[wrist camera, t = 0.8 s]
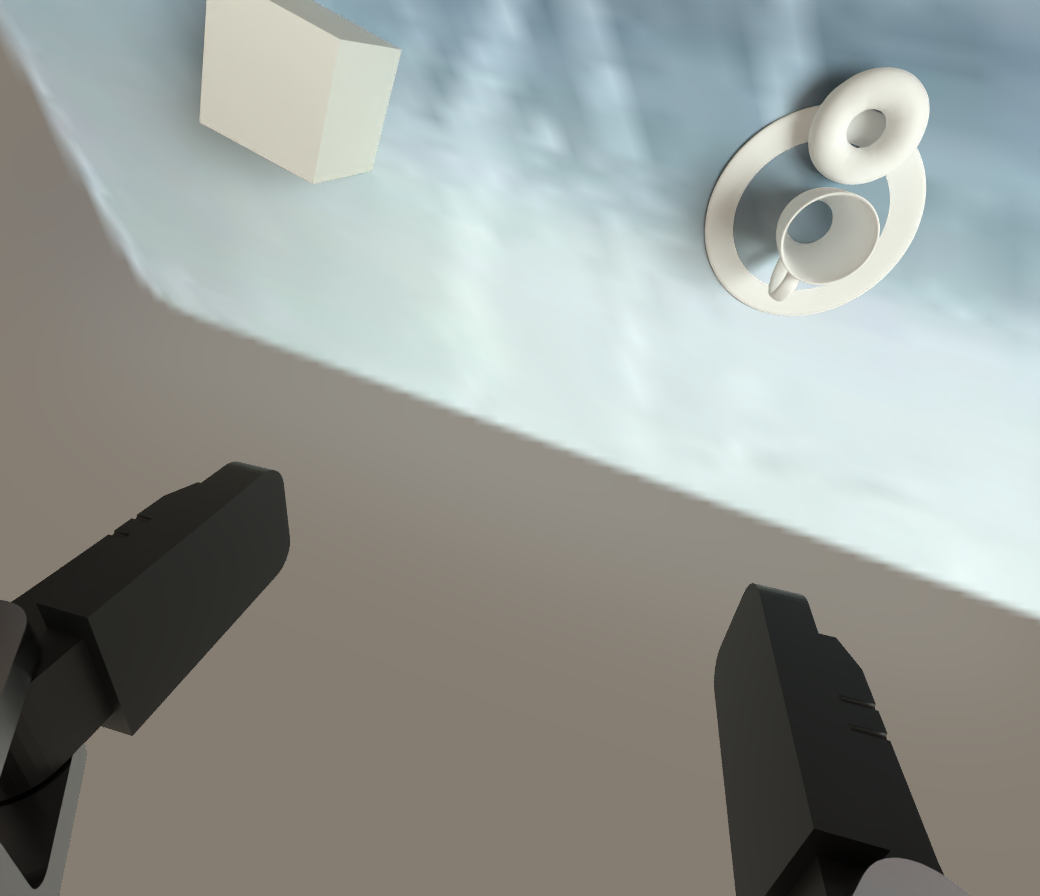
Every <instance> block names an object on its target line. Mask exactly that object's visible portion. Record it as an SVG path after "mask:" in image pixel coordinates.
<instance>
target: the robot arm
mask: <svg viewBox="0 0 1040 896" xmlns="http://www.w3.org/2000/svg"><path fill="white" fill-rule="evenodd" d="M289 547H290V535H289V527H288V517H287V509H286V501H285V492H284V483H283V479H282V476H281V475H280V473H279V472H277V471H275V470H271V469H266V468H262V467H258V466H253V465H249V464H245V463H241V462H231V463H229V464H227V465H225V466H224V467H222V468H221V469H220V470H219V471H217V472H216V473H214V474H213V475H212V476H210V477H209V478H207V479H206V480H204V481H203V482H202V483H195V484H192V485H190V486H187V487H185V488H182V489H180V490H177V491H175V492H172V493H170V494H168V495H165V496H163V497H162V498H160V499H159V500H157V501H156V502H155V503H153V504H152V505H150V506H149V507H147V508H146V509H144V510H143V511H142V512H140V513H139V514H137V518H136V519H130V520H129V521H127V522H126V523H124V524H123V525H122V526H120V527H119V528H117V529H116V530H115V531H114V534H113V535H107V536H106V537H104V538H103V539H101V540H100V541H99V542H97V543H96V544H94V545H93V546H92V547H90V548H89V549H87V550H86V551H84V552H83V553H81V554H80V555H79V556H77V557H76V558H74V559H73V560H71V561H70V562H68V563H67V564H66V565H64V566H63V567H61V568H60V569H59V570H57V571H56V572H54V573H53V574H51V575H50V576H48V577H47V578H46V579H44V580H43V581H41V582H40V583H38V584H37V585H36V586H34V587H33V588H31V589H30V590H28V591H27V592H25V593H24V594H23V595H21V596H20V597H18V598H17V599H15V600H13V601H12V602H8V601H4V600H0V896H59V895H60V888H61V883H62V878H63V873H64V868H65V863H66V858H67V853H68V848H69V843H70V838H71V833H72V828H73V823H74V818H75V813H76V809H77V803H78V799H79V793H80V789H81V784H82V778H83V774H84V769H85V764H86V757H87V751H86V745H85V742H86V741H87V740H88V739H89V737H91V736H92V734H93V733H94V732H95V731H96V730H97V729H98V728H99V727H100V726H103V727H106V728H109V729H112V730H115V731H118V732H122V733H125V734H128V735H131V736H132V735H134V734H135V732H136V731H137V730H138V729H139V728H140V727H141V726H142V725H143V724H144V722H145V721H146V720H147V719H148V718H149V717H150V716H151V715H152V714H153V712H154V711H155V710H156V709H157V708H158V707H159V706H160V705H161V704H162V702H163V701H164V700H165V699H166V698H167V697H168V696H169V695H170V694H171V692H172V691H173V690H174V689H175V688H176V687H177V686H178V684H179V683H180V682H181V681H182V680H183V679H184V678H185V677H186V676H187V675H188V673H189V672H190V671H191V670H192V669H193V668H194V667H195V666H196V665H197V663H198V662H199V661H200V660H201V659H202V658H203V657H204V656H205V654H206V653H207V652H208V651H209V650H210V649H211V648H212V647H213V645H215V643H216V642H217V641H218V640H219V639H220V638H221V637H222V635H224V633H225V632H226V631H227V630H228V629H229V628H230V627H231V626H232V624H233V623H234V622H235V621H236V620H237V619H238V618H239V617H240V616H241V615H242V613H243V612H244V611H245V610H246V609H247V608H248V607H249V606H250V605H251V603H252V602H253V601H254V600H255V599H256V598H257V597H258V595H259V594H260V593H261V592H262V591H263V590H264V589H265V588H266V587H267V586H268V584H269V583H270V582H271V581H272V580H273V579H274V578H275V576H276V575H277V574H278V573H279V572H280V570H281V569H282V567H283V565H284V563H285V561H286V558H287V555H288V552H289ZM714 691H715V700H716V709H717V719H718V728H719V738H720V748H721V757H722V767H723V776H724V786H725V795H726V805H727V814H728V823H729V833H730V842H731V852H732V861H733V871H734V879H735V890H736V896H970V895H968V894H967V893H966V892H965V891H964V890H963V889H962V888H960V887H959V886H958V885H956V884H955V883H954V882H952V881H951V880H950V879H948V878H947V877H945V876H944V874H943V872H942V870H941V867H940V865H939V863H938V861H937V858H936V856H935V853H934V851H933V848H932V846H931V843H930V841H929V838H928V835H927V833H926V830H925V828H924V826H923V823H922V820H921V818H920V815H919V813H918V810H917V808H916V805H915V803H914V800H913V797H912V795H911V792H910V790H909V788H908V785H907V782H906V780H905V777H904V775H903V772H902V770H901V767H900V764H899V762H898V760H897V757H896V755H895V752H894V749H893V747H892V744H891V742H890V741H888V740H887V739H886V735H887V732H886V729H885V727H884V724H883V721H882V719H881V717H880V714H879V711H877V710H875V701H874V699H873V696H872V694H871V691H870V689H869V686H868V684H867V681H866V678H865V676H864V673H863V671H862V669H861V668H860V667H859V665H858V664H857V663H856V662H855V660H854V659H853V658H852V657H851V656H850V654H849V653H848V652H847V651H846V650H845V648H844V647H843V646H842V644H841V643H840V642H839V641H838V640H837V638H835V637H831V636H827V635H823V634H818V631H817V628H816V625H815V622H814V619H813V616H812V613H811V610H810V607H809V604H808V601H807V599H806V598H805V597H804V596H803V595H801V594H797V593H792V592H788V591H784V590H780V589H776V588H771V587H767V586H762V585H758V584H754V583H752V584H750V585H749V586H748V587H747V588H746V590H745V592H744V594H743V596H742V599H741V601H740V603H739V606H738V608H737V610H736V613H735V615H734V617H733V619H732V622H731V624H730V626H729V629H728V631H727V633H726V636H725V638H724V640H723V642H722V645H721V647H720V650H719V653H718V656H717V660H716V666H715V675H714Z"/></svg>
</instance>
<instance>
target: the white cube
mask: <svg viewBox="0 0 1040 896" xmlns="http://www.w3.org/2000/svg"><path fill="white" fill-rule="evenodd" d="M400 54H401V49H400V48H398V47H396V46H394V45H392V44H390V43H389V42H387V41H385V40H383V39H381V38H380V37H378V36H376V35H374V34H372V33H371V32H369V31H367V30H365V29H363V28H362V27H360V26H358V25H356V24H354V23H352V22H351V21H349V20H347V19H345V18H343V17H342V16H340V15H338V14H336V13H334V12H333V11H331V10H329V9H327V8H325V7H324V6H322V5H320V4H318V3H316V2H314V1H313V0H207V3H206V20H205V36H204V53H203V70H202V86H201V103H200V119H199V122H200V123H202V124H203V125H205V126H207V127H209V128H211V129H213V130H214V131H216V132H218V133H220V134H222V135H224V136H226V137H227V138H229V139H231V140H233V141H235V142H237V143H238V144H240V145H242V146H244V147H246V148H248V149H249V150H251V151H253V152H255V153H257V154H259V155H261V156H262V157H264V158H266V159H268V160H270V161H272V162H273V163H275V164H277V165H279V166H281V167H283V168H284V169H286V170H288V171H290V172H292V173H294V174H296V175H297V176H299V177H301V178H303V179H305V180H307V181H308V182H310V183H312V184H316V183H320V182H324V181H329V180H333V179H338V178H342V177H346V176H351V175H355V174H360V173H364V172H368V171H372V169H373V165H374V161H375V157H376V153H377V148H378V144H379V140H380V136H381V132H382V128H383V124H384V120H385V116H386V112H387V108H388V103H389V99H390V95H391V91H392V87H393V83H394V79H395V75H396V71H397V67H398V62H399V58H400Z"/></svg>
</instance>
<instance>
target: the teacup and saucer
mask: <svg viewBox="0 0 1040 896" xmlns="http://www.w3.org/2000/svg"><path fill="white" fill-rule="evenodd" d="M873 109H876V110H879V111H881V112H882V113H883V114H882V113H880V112H878V111H876V110H873ZM928 118H929V99H928V95H927V92H926V90H925V88H924V86H923V85H922V83H921V82H920V81H919V80H918V79H917V78H916V77H915V76H914V75H912V74H911V73H909V72H907V71H905V70H902V69H899V68H893V67H879V68H873V69H869V70H866V71H863V72H860V73H858V74H856V75H854V76H852V77H851V78H849V79H848V80H846V81H845V82H843V83H842V84H840V85H839V86H838V87H836V88H835V89H834V90H833V91H832V92H831V93H830V94H829V95H828V96H827V97H826V99H825V100H824V101H823V103H822V104H821V105H818V106H813V107H809V108H805V109H802V110H799V111H796V112H794V113H791V114H789V115H787V116H785V117H782V118H781V119H779V120H777V121H775V122H773V123H772V124H770V125H768V126H767V127H765V128H764V129H763V130H761V131H760V132H758V133H757V134H756V135H755V136H753V137H752V138H751V139H750V140H749V141H748V142H747V143H746V144H745V145H744V146H743V147H742V148H741V149H740V150H739V151H738V152H737V153H736V154H735V156H734V157H733V158H732V159H731V161H730V162H729V163H728V165H727V166H726V168H725V169H724V171H723V173H722V174H721V176H720V178H719V180H718V182H717V184H716V186H715V188H714V190H713V193H712V196H711V198H710V202H709V205H708V209H707V214H706V221H705V244H706V250H707V254H708V258H709V261H710V264H711V266H712V269H713V271H714V273H715V275H716V276H717V278H718V279H719V281H720V282H721V284H722V285H723V286H724V287H725V288H726V290H727V291H728V292H729V293H731V294H732V295H733V296H734V297H735V298H737V299H738V300H739V301H741V302H742V303H744V304H746V305H748V306H750V307H752V308H754V309H757V310H759V311H762V312H766V313H770V314H775V315H783V316H801V315H809V314H815V313H820V312H823V311H827V310H830V309H833V308H836V307H838V306H841V305H843V304H845V303H847V302H849V301H851V300H853V299H855V298H857V297H858V296H860V295H862V294H863V293H865V292H866V291H868V290H869V289H870V288H872V287H873V286H874V285H876V284H877V283H878V282H879V281H880V280H881V279H882V278H884V277H885V276H886V275H887V274H888V273H889V272H890V271H891V269H892V268H893V267H894V266H895V265H896V264H897V262H898V261H899V260H900V259H901V257H902V256H903V254H904V253H905V252H906V250H907V248H908V247H909V245H910V243H911V241H912V240H913V238H914V236H915V233H916V231H917V229H918V226H919V224H920V221H921V217H922V214H923V210H924V205H925V197H926V177H925V170H924V166H923V162H922V159H921V156H920V153H919V151H918V149H917V146H918V144H919V143H920V141H921V139H922V136H923V134H924V132H925V129H926V126H927V123H928ZM806 142H808V147H809V154H810V158H811V160H812V162H813V164H814V166H815V167H816V169H817V170H818V171H819V172H820V173H821V174H822V175H823V176H825V177H826V178H828V179H830V180H832V181H834V182H837V183H841V184H847V185H856V184H863V183H867V182H871V181H873V180H876V179H878V178H881V177H883V176H885V175H886V177H887V180H888V184H889V190H890V209H889V214H888V218H887V222H886V225H885V227H884V230H883V232H882V234H881V236H880V238H879V232H880V224H879V219H878V215H877V213H876V211H875V209H874V208H873V206H872V205H871V204H870V203H869V202H868V201H867V200H866V199H864V198H863V197H861V196H859V195H857V194H855V193H852V192H849V191H845V190H842V189H837V188H831V187H820V188H814V189H811V190H808V191H805V192H803V193H801V194H800V195H798V196H796V197H795V198H794V199H793V200H792V201H790V202H789V204H788V205H787V206H786V207H785V209H784V210H783V212H782V213H781V215H780V218H779V220H778V224H777V228H776V243H777V248H778V251H779V255H780V258H779V259H778V261H777V264H776V266H775V268H774V271H773V273H772V276H771V279H770V283H769V285H767V284H765V283H763V282H761V281H760V280H758V279H757V278H755V277H754V276H753V275H752V274H751V273H750V272H749V271H748V270H747V269H746V268H745V266H744V265H743V264H742V262H741V260H740V258H739V256H738V254H737V251H736V248H735V244H734V237H733V224H734V217H735V212H736V209H737V206H738V203H739V200H740V198H741V196H742V194H743V192H744V190H745V189H746V187H747V185H748V184H749V182H750V181H751V180H752V178H753V177H754V176H755V175H756V174H757V172H758V171H759V170H760V169H761V168H762V167H763V166H764V165H766V164H767V163H768V162H769V161H770V160H772V159H773V158H774V157H776V156H777V155H779V154H781V153H782V152H784V151H786V150H788V149H790V148H792V147H794V146H797V145H800V144H803V143H806ZM850 143H852V144H855V145H857V146H859V147H860V148H856V147H854V146H852V145H851V144H850ZM816 200H820V201H823V202H825V203H826V204H828V205H829V207H830V208H831V210H832V213H833V221H832V225H831V227H830V229H829V230H828V232H827V233H826V234H825V235H824V236H823V237H822V238H821V239H819V240H817V241H815V242H812V243H807V244H803V243H798V242H796V241H794V240H793V239H792V238H791V237H790V236H789V234H788V231H787V228H788V226H789V224H790V223H791V221H792V220H793V219H794V217H795V216H796V215H797V214H798V213H799V212H800V211H801V210H802V209H803V208H805V207H806V206H807V205H809V204H810V203H812V202H814V201H816ZM878 238H879V240H878ZM799 281H802V282H804V283H808V284H814V285H822V286H819V287H815V288H811V289H804V290H794V289H795V288H796V286H797V285H798V283H799ZM824 284H825V285H824Z"/></svg>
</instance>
